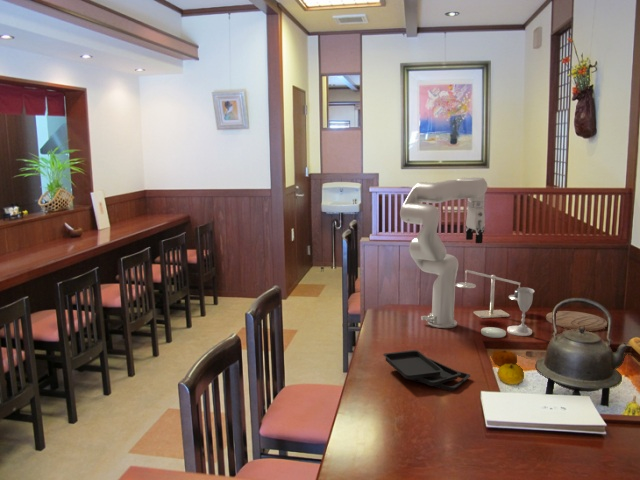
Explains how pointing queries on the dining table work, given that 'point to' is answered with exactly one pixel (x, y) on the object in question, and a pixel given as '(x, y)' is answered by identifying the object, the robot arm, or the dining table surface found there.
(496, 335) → the dish left
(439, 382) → the tray
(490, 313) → the balance
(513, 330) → the dish right
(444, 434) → the dining table surface
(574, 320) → the trivet
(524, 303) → the chalice
